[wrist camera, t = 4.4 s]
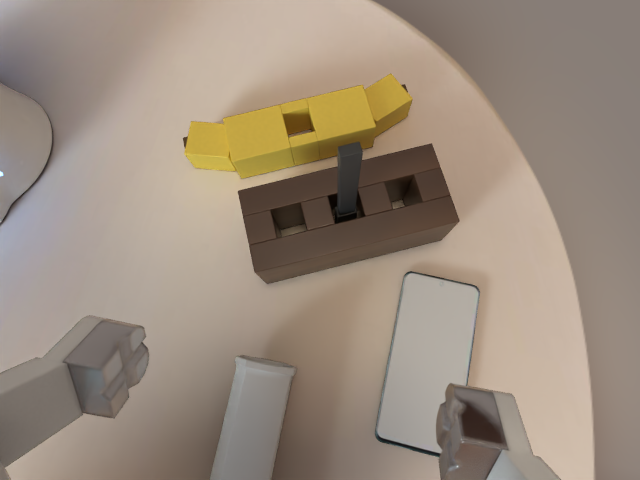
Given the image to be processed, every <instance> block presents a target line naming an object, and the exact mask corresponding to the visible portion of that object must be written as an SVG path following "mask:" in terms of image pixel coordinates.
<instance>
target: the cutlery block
mask: <svg viewBox="0 0 640 480" xmlns="http://www.w3.org/2000/svg"><path fill="white" fill-rule="evenodd" d="M337 185H338V167H334V168H329V169H325V170H321V171H317V172H313V173H309V174H305V175H301V176H297V177H293V178H289V179H285V180H280V181H276V182H272V183H268V184H264V185H260V186H256V187H252V188H248V189H244V190H240V191H238V194H239V199H240V204H241V209H242V214H243V218H244V223H245V228H246V233H247V238H248V243H249V245H250V246H249V247H250V252H251V257H252V262H253V267H254V271H255V273H256V274H257V275H258V276H259V277H260V278H261V279H262V280H264V281H265V282H266V283H267V284H269V283H273V282H277V281H281V280H285V279H289V278H293V277H297V276H301V275H305V274H309V273H312V272H316V271H320V270H324V269H328V268H332V267H336V266H340V265H344V264H348V263H352V262H356V261H360V260H364V259H368V258H372V257H376V256H380V255H384V254H388V253H392V252H396V251H400V250H404V249H408V248H412V247H416V246H420V245H424V244H428V243H432V242H436V241H440V240H442V239H443V238H444V237H445V236H446V235H447V234H448V233H449V232H450V231H451V230H452V229H453V228H454V226H455V225H456V224H457V223H458V222H459V218H458V215H457V213H456V210H455V207H454V204H453V201H452V199H451V196H450V193H449V190H448V187H447V184H446V181H445V179H444V176H443V173H442V170H441V168H440V165H439V162H438V159H437V156H436V154H435V151H434V148H433V145H432V144H427V145H423V146H419V147H415V148H411V149H407V150H403V151H399V152H395V153H391V154H387V155H383V156H378V157H374V158H370V159H366V160H362V161H361V169H360V176H359V184H358V191H357V199H356V209H357V219H353V220H349V221H345V222H341V223H337V224H335V221H334V217H333V216H335V207H337ZM401 199H403V201H404V204H405V207H401V208H397V209H393V208H392V205H391V202H392V201H397V200H401ZM304 223H306V227H307V231H305V232H301V233H297V234H293V235H289V236H285V237H282V236H281V232H280V229H284V228H288V227H292V226H296V225H300V224H304Z"/></svg>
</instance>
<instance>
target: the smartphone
mask: <svg viewBox="0 0 640 480" xmlns="http://www.w3.org/2000/svg"><path fill="white" fill-rule="evenodd" d="M479 296H480V291H479V289H478V287H477V286H475V285H471V284H467V283H462V282H458V281H453V280H449V279H444V278H440V277H435V276H431V275H426V274H422V273H417V272H412V271H410V272H407V273H406V274H405V276H404V280H403V285H402V291H401V296H400V301H399V307H398V312H397V317H396V323H395V328H394V334H393V339H392V344H391V350H390V355H389V360H388V366H387V371H386V376H385V382H384V387H383V392H382V398H381V403H380V408H379V414H378V419H377V425H376V430H375V435H376V438H377V439H378V440H379V441H380V442H383V443H387V444H391V445H394V446H398V447H402V448H406V449H409V450H413V451H417V452H421V453H424V454H428V455H432V456H436V457H440V454H441V452H442V449H441V448H440V446H439V445H438V444H437V440H436V419H437V413H438V410H439V407H440V404H442V403H444V402H445V401H446V399H445V391H446V388H447V386H448V385H449V384H450V383H453V384H459V385H465V386H467V383H468V375H469V368H470V361H471V354H472V346H473V339H474V332H475V325H476V318H477V310H478V303H479Z"/></svg>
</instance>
